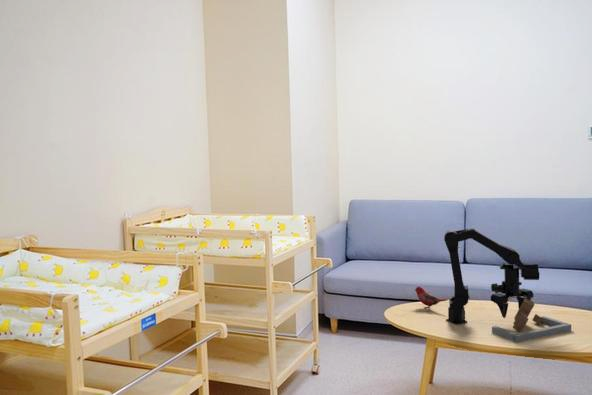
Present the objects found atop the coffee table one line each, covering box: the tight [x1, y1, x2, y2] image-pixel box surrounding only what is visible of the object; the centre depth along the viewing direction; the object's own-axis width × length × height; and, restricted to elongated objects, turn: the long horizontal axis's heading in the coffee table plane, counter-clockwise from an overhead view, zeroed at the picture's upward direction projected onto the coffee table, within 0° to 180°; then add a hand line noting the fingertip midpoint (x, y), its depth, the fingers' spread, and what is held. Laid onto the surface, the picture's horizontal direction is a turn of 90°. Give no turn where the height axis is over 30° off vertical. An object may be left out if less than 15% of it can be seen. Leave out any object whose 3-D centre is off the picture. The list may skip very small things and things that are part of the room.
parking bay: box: [491, 315, 572, 344], centre depth 207 cm, size 29×13×2 cm, turn 113°
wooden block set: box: [512, 299, 543, 333], centre depth 213 cm, size 18×9×10 cm, turn 133°
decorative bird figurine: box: [414, 286, 447, 310], centre depth 242 cm, size 3×18×10 cm, turn 43°
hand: (512, 316), depth 216 cm, fingers open, 9 cm apart
